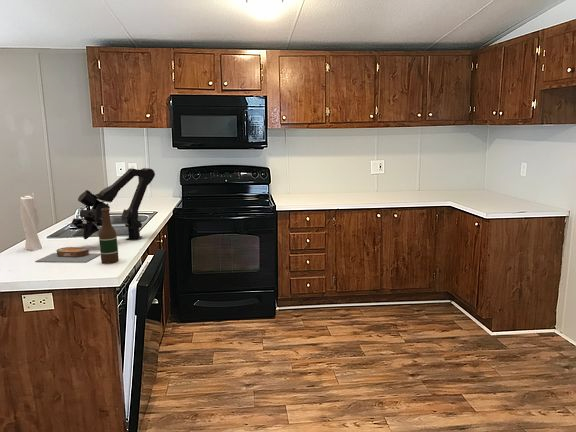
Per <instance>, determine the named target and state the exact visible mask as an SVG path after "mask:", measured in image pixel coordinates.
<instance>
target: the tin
mask: <svg viewBox="0 0 576 432" xmlns="http://www.w3.org/2000/svg"><path fill="white" fill-rule="evenodd" d="M89 250H90V248H89V247H84V246H83V247H82V246H81V247H79V246H67V247H61V248H58V249H56V253H57V255H58V256H61V257H81V256H85V255H87V254H89V253H90V251H89Z"/></svg>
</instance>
